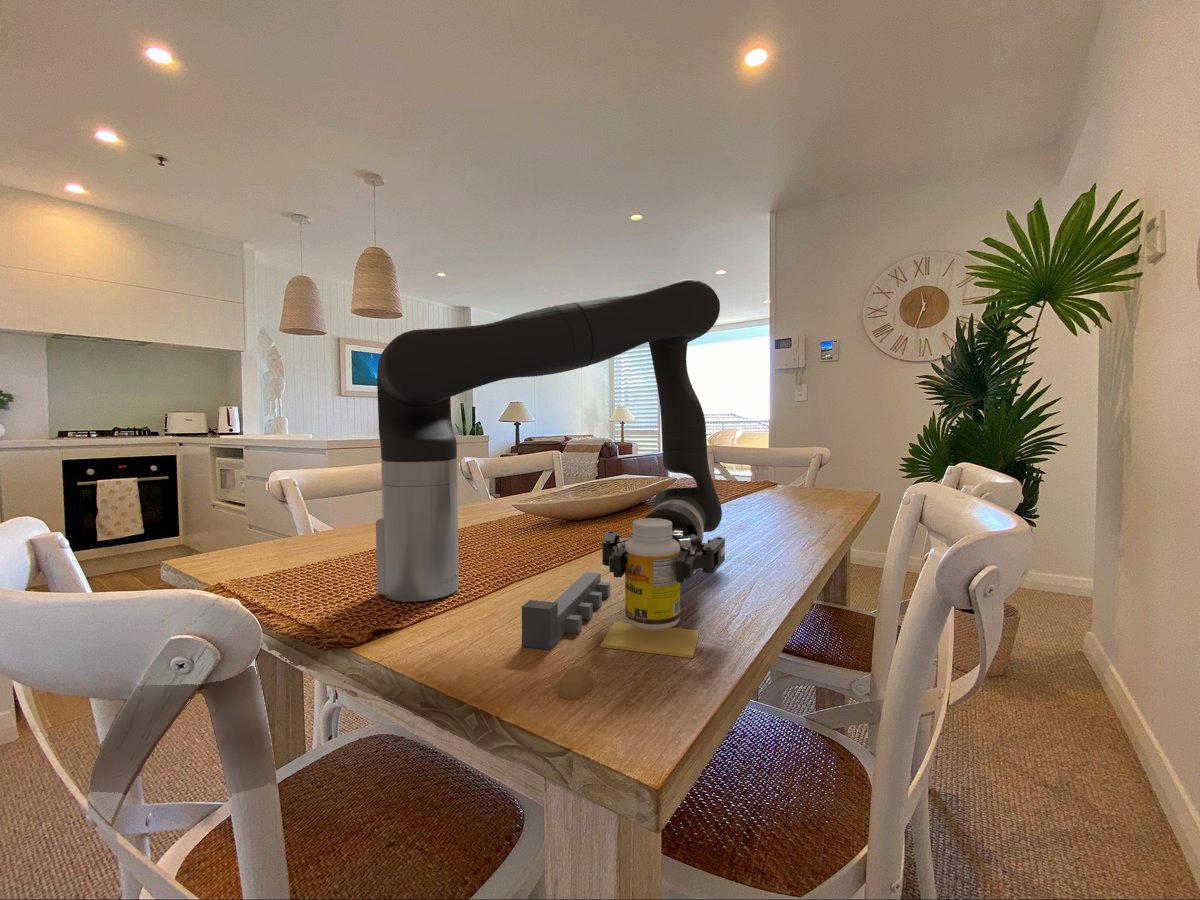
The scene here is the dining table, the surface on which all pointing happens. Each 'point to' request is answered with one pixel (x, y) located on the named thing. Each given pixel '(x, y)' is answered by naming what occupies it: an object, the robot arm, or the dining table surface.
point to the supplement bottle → (652, 575)
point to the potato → (576, 682)
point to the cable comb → (562, 612)
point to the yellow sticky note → (652, 640)
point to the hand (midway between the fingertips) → (648, 569)
